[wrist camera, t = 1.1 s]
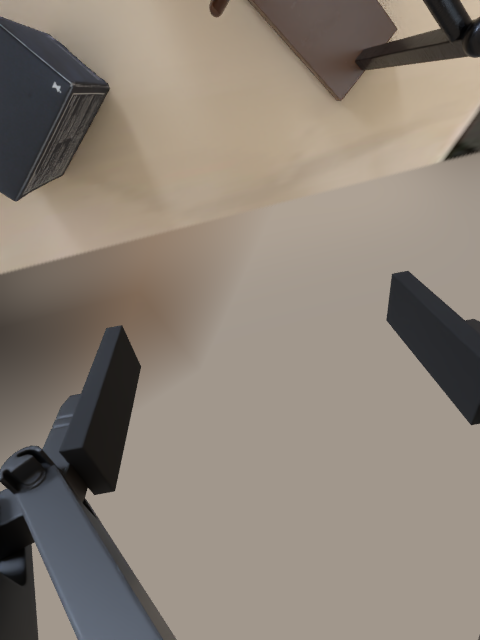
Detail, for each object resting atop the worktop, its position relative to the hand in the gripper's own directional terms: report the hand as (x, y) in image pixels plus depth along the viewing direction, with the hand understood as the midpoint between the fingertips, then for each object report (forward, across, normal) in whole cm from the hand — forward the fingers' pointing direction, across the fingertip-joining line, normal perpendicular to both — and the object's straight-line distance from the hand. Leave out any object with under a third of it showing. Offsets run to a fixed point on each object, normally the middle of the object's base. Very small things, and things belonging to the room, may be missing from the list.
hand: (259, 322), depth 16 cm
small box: (+27, -15, +10) cm, 32 cm away
